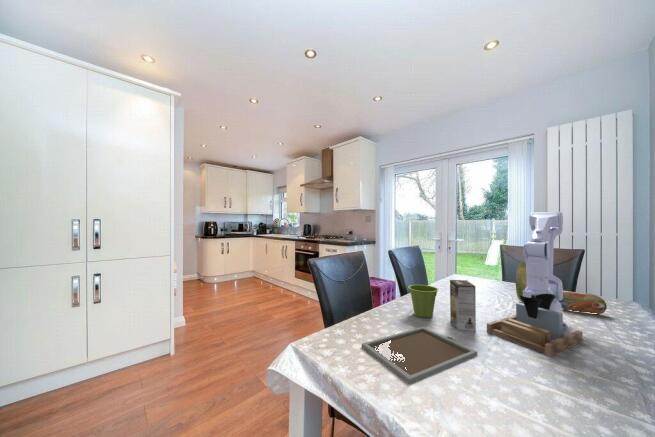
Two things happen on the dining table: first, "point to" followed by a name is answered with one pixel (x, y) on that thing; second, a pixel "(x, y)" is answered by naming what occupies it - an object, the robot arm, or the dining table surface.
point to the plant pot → (423, 299)
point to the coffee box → (463, 304)
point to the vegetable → (521, 279)
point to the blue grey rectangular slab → (542, 320)
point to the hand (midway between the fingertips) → (538, 315)
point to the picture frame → (420, 353)
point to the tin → (583, 302)
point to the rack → (549, 347)
